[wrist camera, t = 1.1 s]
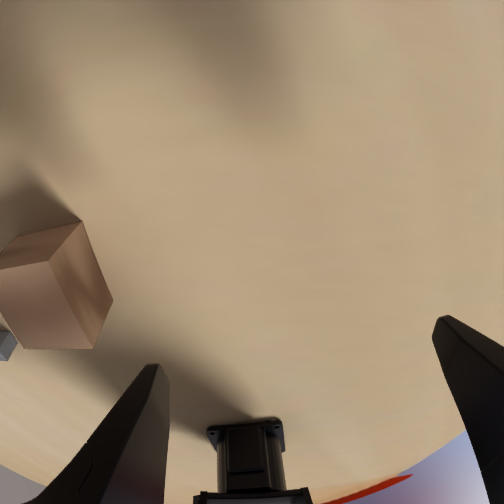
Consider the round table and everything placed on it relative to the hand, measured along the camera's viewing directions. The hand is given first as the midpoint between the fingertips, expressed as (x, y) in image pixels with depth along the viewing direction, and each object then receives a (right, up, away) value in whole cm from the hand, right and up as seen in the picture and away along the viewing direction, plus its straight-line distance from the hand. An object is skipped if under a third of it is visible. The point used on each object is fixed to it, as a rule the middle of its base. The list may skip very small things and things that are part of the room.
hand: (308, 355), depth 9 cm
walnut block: (-12, +2, +7) cm, 14 cm away
